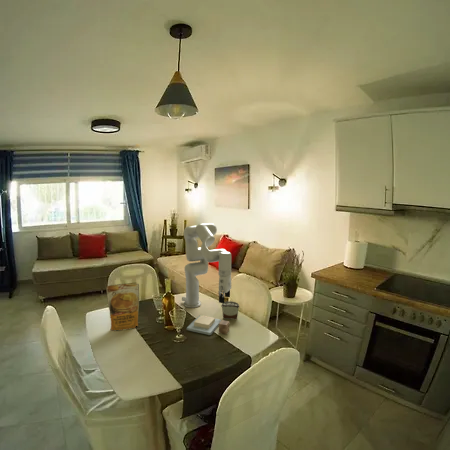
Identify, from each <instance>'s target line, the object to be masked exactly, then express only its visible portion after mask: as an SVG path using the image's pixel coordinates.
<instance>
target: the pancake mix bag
mask: <svg viewBox="0 0 450 450" xmlns="http://www.w3.org/2000/svg"><path fill="white" fill-rule="evenodd" d="M105 290H106V291H105V292H106V296H107V304H108V310H109V318H110V331H114V330H119V331H123V329H126V330H130V329H129V328H132V329H135V328H137V327H139V321H138V320H139V308H140V307H139V306H140V285H139V283H137V282H129V283H127V282H126V283H118V284H112V285H108V286H106V287H105ZM136 326H137V327H136Z"/></svg>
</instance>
